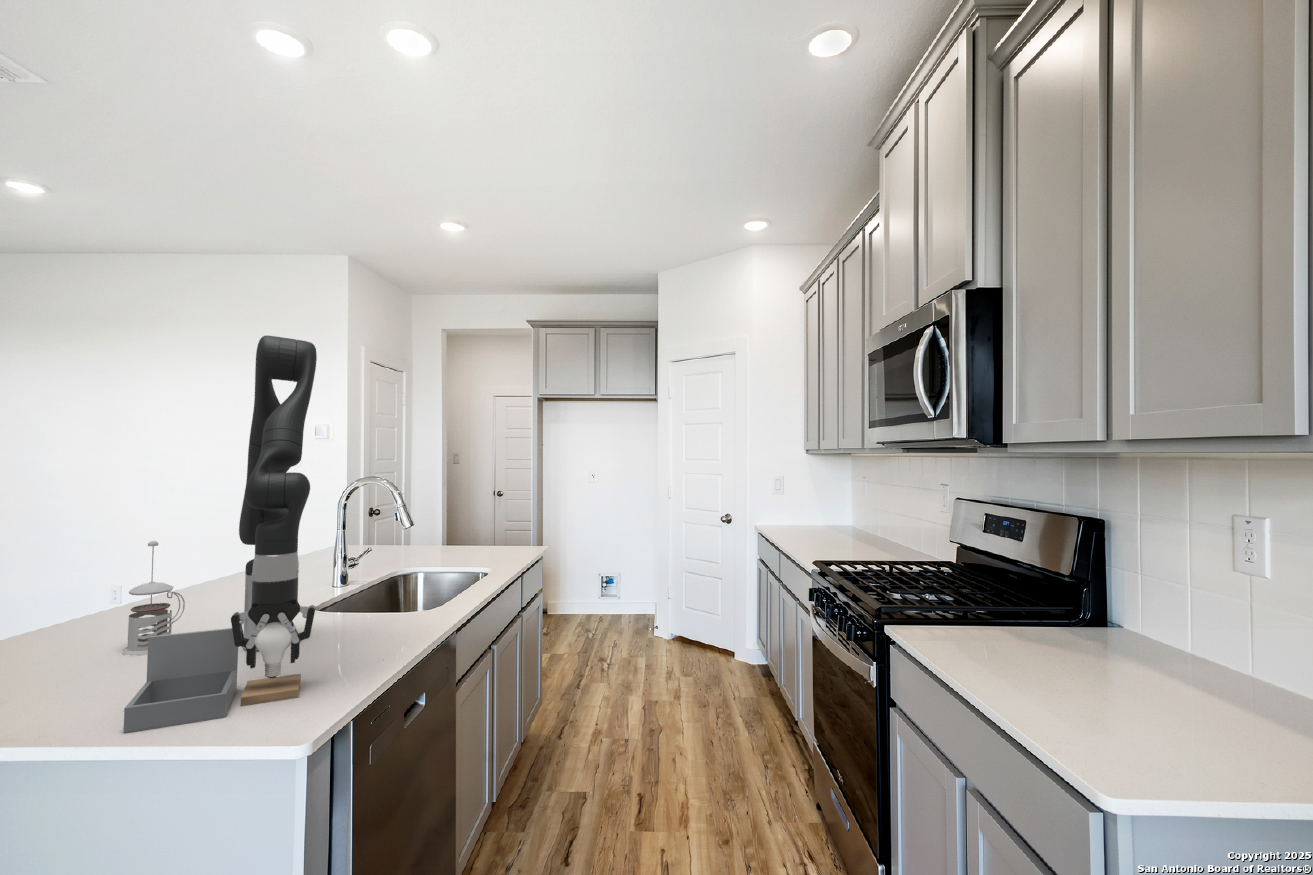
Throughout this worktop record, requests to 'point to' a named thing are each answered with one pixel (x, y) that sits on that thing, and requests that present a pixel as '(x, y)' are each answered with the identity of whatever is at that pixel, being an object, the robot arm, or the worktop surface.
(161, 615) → the french press
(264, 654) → the lightbulb
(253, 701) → the stand
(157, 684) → the case
